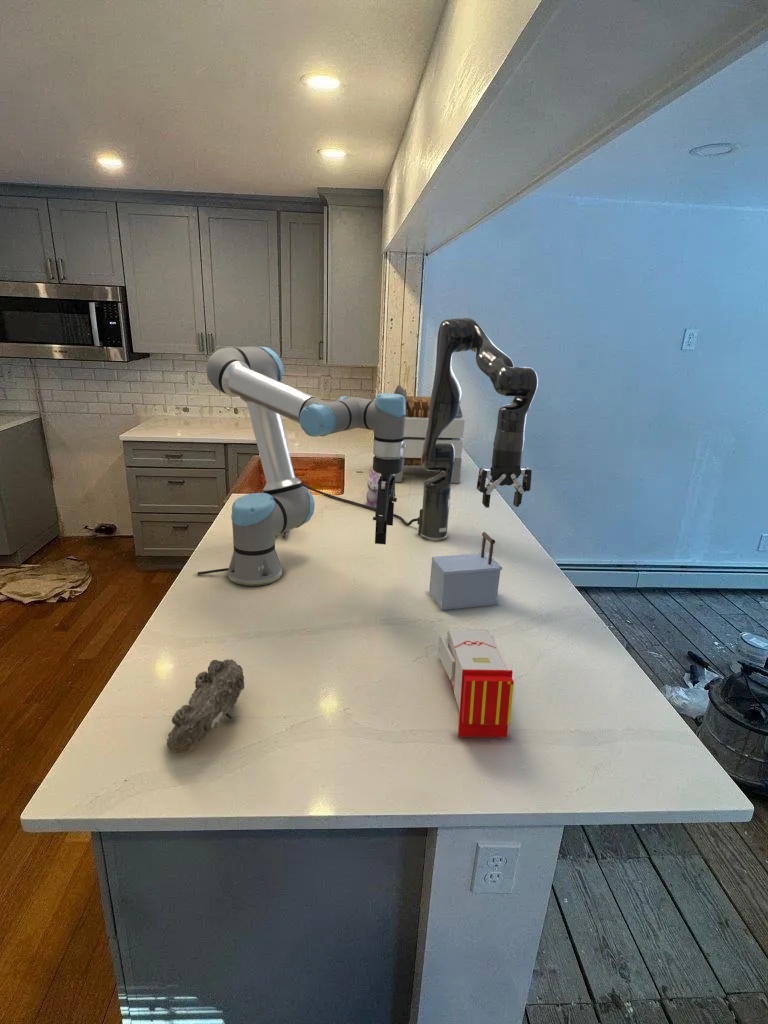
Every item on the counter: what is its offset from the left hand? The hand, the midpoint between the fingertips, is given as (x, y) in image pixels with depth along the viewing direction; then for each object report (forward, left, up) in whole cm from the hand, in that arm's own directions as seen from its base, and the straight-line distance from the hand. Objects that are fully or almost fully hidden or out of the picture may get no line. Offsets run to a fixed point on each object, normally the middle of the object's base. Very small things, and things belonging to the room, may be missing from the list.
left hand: (384, 533), depth 151 cm
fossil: (-23, -56, -18) cm, 63 cm away
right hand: (+30, +8, +8) cm, 32 cm away
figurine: (-15, +73, -18) cm, 76 cm away
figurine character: (-41, +37, -18) cm, 58 cm away
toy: (+25, -37, -18) cm, 49 cm away
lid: (+22, +3, -8) cm, 24 cm away
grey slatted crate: (-3, +126, -18) cm, 128 cm away
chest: (+22, +3, -18) cm, 29 cm away
